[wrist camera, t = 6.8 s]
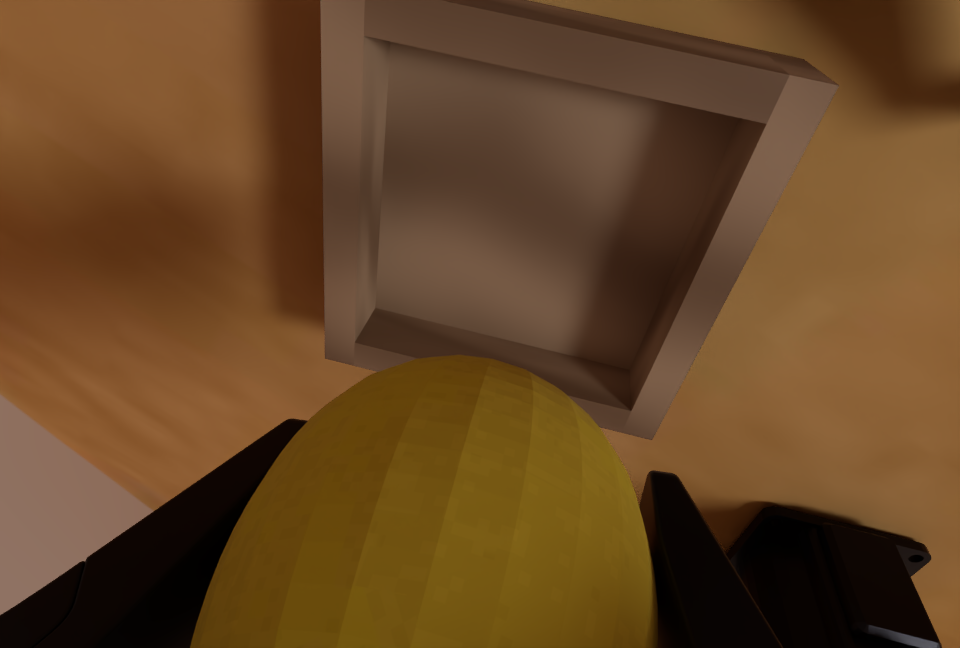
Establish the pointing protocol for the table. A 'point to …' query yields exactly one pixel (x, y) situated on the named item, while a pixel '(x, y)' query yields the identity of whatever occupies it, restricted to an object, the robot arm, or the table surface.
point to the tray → (546, 190)
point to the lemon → (439, 524)
